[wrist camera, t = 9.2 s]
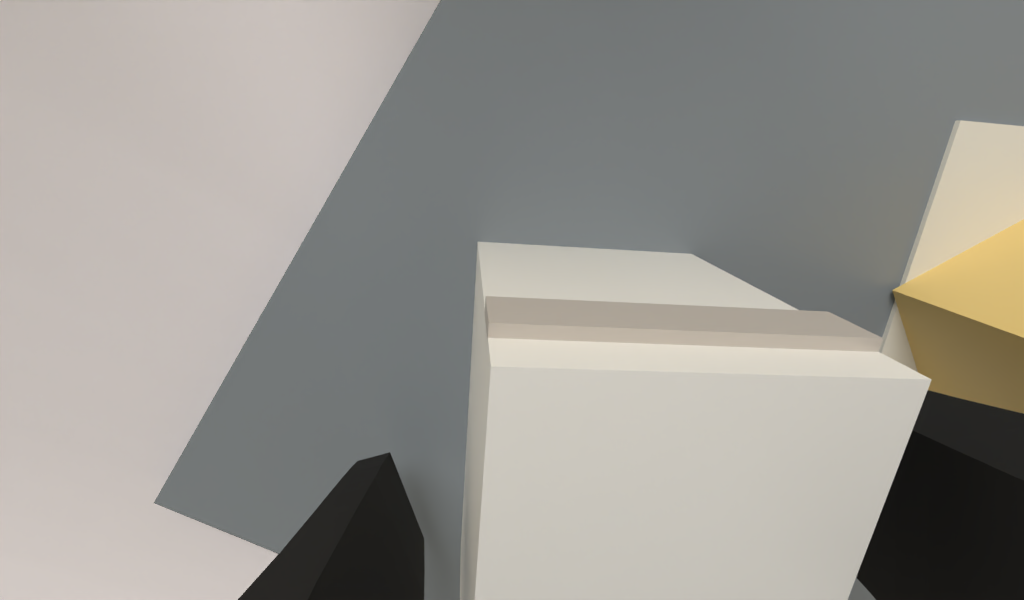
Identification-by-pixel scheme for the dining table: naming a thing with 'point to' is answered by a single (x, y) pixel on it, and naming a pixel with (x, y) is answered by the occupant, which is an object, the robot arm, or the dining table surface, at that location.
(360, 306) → the baseplate
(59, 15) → the dining table surface
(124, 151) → the dining table surface
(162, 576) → the dining table surface
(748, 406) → the cream brick
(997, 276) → the ochre brick
